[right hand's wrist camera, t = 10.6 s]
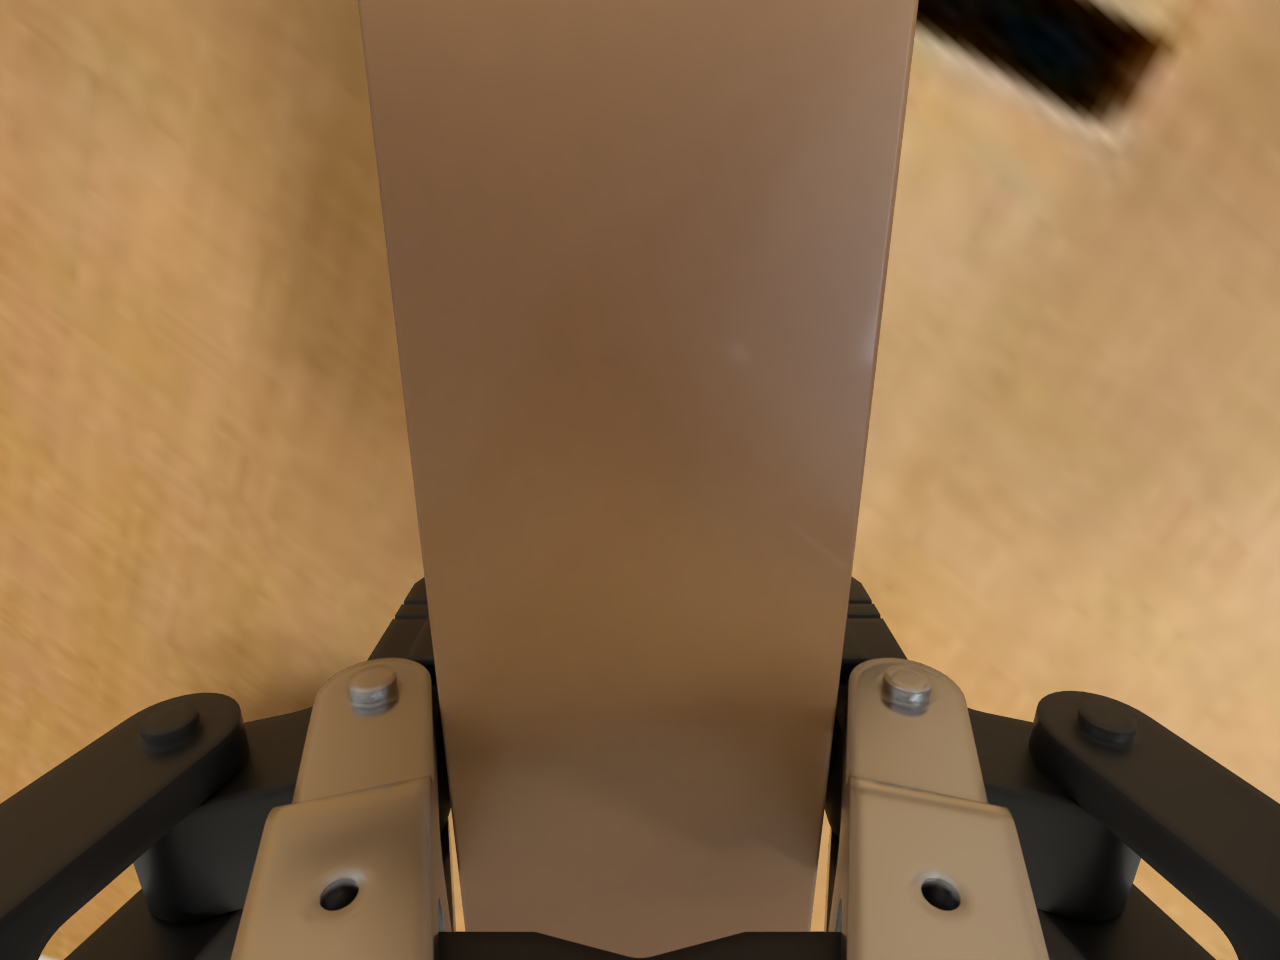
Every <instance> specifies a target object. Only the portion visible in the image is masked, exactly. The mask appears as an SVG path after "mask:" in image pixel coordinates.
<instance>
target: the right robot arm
mask: <svg viewBox="0 0 1280 960" xmlns="http://www.w3.org/2000/svg"><path fill="white" fill-rule="evenodd" d="M450 809H451V801H450V792H449V783H448V775H447V766H446V757H445V749H444V740H443V731H442V723H441V714H440V705H439V697H438V688H437V680H436V671H435V662H434V654H433V645H432V636H431V628H430V619H429V610H428V602H427V593H426V584H425V577H424V578H422V579H421V580H419V581H418V582H417V583H415V584H414V586H413V588H412V589H411V591H410V592H409V594H408V596H407V597H406V599H405V600H404V605H401V607H400V609H399V610H398V612H397V613H396V615H395V619H393V620H392V621H391V623H390V625H389V626H388V628H387V630H386V631H385V633H384V634H383V636H382V638H381V639H380V641H379V642H378V644H377V646H376V647H375V649H374V651H373V652H372V654H371V655H370V657H369V659H368V660H367V661H365V662H362V663H358V664H356V665H353V666H351V667H348V668H346V669H344V670H342V671H340V672H339V673H337V674H336V675H334V676H333V677H331V678H330V679H329V680H328V681H326V682H325V683H324V684H323V686H322V687H321V688H320V689H319V691H318V692H317V694H316V697H315V699H314V704H313V707H311V708H308V709H305V710H302V711H298V712H294V713H290V714H285V715H280V716H276V717H271V718H266V719H261V720H256V721H251V722H246V723H244V722H243V718H242V714H241V710H240V707H239V704H238V703H237V702H236V701H235V700H234V699H232V698H231V697H229V696H226V695H223V694H217V693H196V694H189V695H184V696H180V697H176V698H172V699H169V700H166V701H163V702H160V703H157V704H155V705H153V706H150V707H148V708H146V709H144V710H142V711H140V712H138V713H136V714H135V715H133V716H131V717H130V718H128V719H127V720H125V721H124V722H122V723H121V724H119V725H118V726H116V727H115V728H113V729H112V730H110V731H109V732H107V733H106V734H104V735H103V736H101V737H100V738H98V739H97V740H95V741H94V742H92V743H91V744H89V745H88V746H86V747H85V748H83V749H82V750H80V751H79V752H77V753H76V754H74V755H73V756H71V757H70V758H68V759H67V760H65V761H64V762H62V763H61V764H59V765H58V766H56V767H55V768H53V769H52V770H50V771H49V772H47V773H46V774H44V775H43V776H41V777H40V778H38V779H37V780H35V781H34V782H32V783H31V784H29V785H28V786H26V787H25V788H23V789H22V790H20V791H19V792H18V793H16V794H15V795H13V796H12V797H10V798H9V799H7V800H6V801H4V802H3V803H1V804H0V960H38V959H39V957H40V955H41V952H42V950H43V949H44V947H45V945H46V944H47V942H48V941H49V940H50V938H51V937H52V935H53V934H54V933H55V932H56V931H57V930H58V928H59V927H60V926H61V925H62V924H64V923H65V922H66V921H67V920H68V919H69V918H70V917H71V916H72V915H74V914H75V913H76V912H77V911H78V910H79V909H81V908H82V907H83V906H84V905H85V904H86V903H87V902H89V901H90V900H91V899H92V898H93V897H94V896H95V895H97V894H98V893H99V892H100V891H101V890H102V889H104V888H105V887H106V886H107V885H108V884H109V883H110V882H112V881H113V880H114V879H115V878H116V877H117V876H119V875H120V874H121V873H122V872H123V871H124V870H125V869H127V868H128V867H129V866H130V865H131V864H132V863H134V866H135V869H136V872H137V875H138V878H139V881H140V884H141V887H142V889H141V890H140V891H139V892H137V893H136V894H135V895H134V896H133V897H132V898H131V899H130V900H129V901H128V902H127V903H125V904H124V905H123V906H122V907H121V908H120V909H119V910H118V911H117V912H116V913H115V914H113V915H112V916H111V917H110V918H109V919H108V920H107V921H106V922H105V923H104V924H102V925H101V926H100V927H99V928H98V929H97V930H96V931H95V932H94V933H93V934H92V935H90V936H89V937H88V938H87V939H86V940H85V941H84V942H83V943H82V944H81V945H80V946H78V947H77V948H76V949H75V950H74V951H73V952H72V953H71V954H70V955H69V956H67V957H66V958H65V959H64V960H1216V959H1215V958H1214V957H1213V956H1211V955H1210V954H1209V953H1208V952H1207V951H1206V950H1205V949H1204V948H1203V947H1202V946H1200V945H1199V944H1198V943H1197V942H1196V941H1195V940H1194V939H1193V938H1192V937H1191V936H1190V935H1188V934H1187V933H1186V932H1185V931H1184V930H1183V929H1182V928H1181V927H1180V926H1179V925H1178V924H1176V923H1175V922H1174V921H1173V920H1172V919H1171V918H1170V917H1169V916H1168V915H1167V914H1165V913H1164V912H1163V911H1162V910H1161V909H1160V908H1159V907H1158V906H1157V905H1156V904H1155V903H1153V902H1152V901H1151V900H1150V899H1149V898H1148V897H1147V896H1146V895H1145V894H1144V893H1143V892H1141V891H1140V890H1139V889H1138V888H1137V887H1136V886H1135V885H1134V884H1133V881H1134V878H1135V875H1136V872H1137V869H1138V866H1139V863H1140V860H1141V858H1142V859H1143V860H1144V861H1145V862H1147V863H1148V864H1149V865H1150V866H1151V867H1152V868H1153V869H1155V870H1156V871H1157V872H1158V873H1159V874H1160V875H1161V876H1163V877H1164V878H1165V879H1166V880H1167V881H1168V882H1170V883H1171V884H1172V885H1173V886H1174V887H1175V888H1176V889H1178V890H1179V891H1180V892H1181V893H1182V894H1183V895H1184V896H1186V897H1187V898H1188V899H1189V900H1190V901H1191V902H1193V903H1194V904H1195V905H1196V906H1197V907H1198V908H1199V909H1201V910H1202V911H1203V912H1204V913H1205V914H1206V915H1208V916H1209V917H1210V918H1211V919H1212V920H1213V921H1214V922H1215V923H1216V924H1217V925H1218V926H1219V927H1220V929H1221V930H1222V931H1223V932H1224V934H1225V935H1226V936H1227V938H1228V939H1229V941H1230V942H1231V944H1232V946H1233V948H1234V950H1235V952H1236V954H1237V956H1238V959H1239V960H1280V804H1279V803H1277V802H1276V801H1274V800H1273V799H1271V798H1270V797H1268V796H1267V795H1265V794H1264V793H1262V792H1261V791H1259V790H1258V789H1256V788H1255V787H1254V786H1252V785H1251V784H1249V783H1248V782H1246V781H1245V780H1243V779H1242V778H1240V777H1239V776H1237V775H1236V774H1234V773H1233V772H1231V771H1230V770H1228V769H1227V768H1225V767H1224V766H1222V765H1221V764H1219V763H1218V762H1216V761H1215V760H1213V759H1212V758H1210V757H1209V756H1207V755H1206V754H1204V753H1203V752H1201V751H1200V750H1198V749H1197V748H1195V747H1194V746H1192V745H1191V744H1189V743H1188V742H1186V741H1185V740H1183V739H1182V738H1180V737H1179V736H1177V735H1176V734H1174V733H1173V732H1171V731H1170V730H1168V729H1167V728H1165V727H1164V726H1162V725H1161V724H1159V723H1158V722H1156V721H1155V720H1153V719H1152V718H1150V717H1149V716H1147V715H1146V714H1144V713H1142V712H1141V711H1139V710H1137V709H1135V708H1133V707H1131V706H1129V705H1127V704H1124V703H1122V702H1120V701H1117V700H1114V699H1111V698H1108V697H1105V696H1101V695H1097V694H1093V693H1087V692H1079V691H1061V692H1055V693H1052V694H1049V695H1047V696H1045V697H1044V698H1042V699H1041V701H1040V702H1039V703H1038V706H1037V710H1036V714H1035V718H1034V722H1028V721H1023V720H1018V719H1013V718H1008V717H1003V716H999V715H994V714H989V713H984V712H980V711H976V710H973V709H970V708H967V704H966V699H965V697H964V694H963V692H962V691H961V689H960V688H959V687H958V686H957V684H956V683H955V682H954V681H952V680H951V679H950V678H949V677H947V676H946V675H944V674H943V673H941V672H940V671H938V670H936V669H934V668H932V667H929V666H927V665H924V664H922V663H918V662H915V661H911V660H908V659H907V658H906V656H905V655H904V653H903V651H902V650H901V648H900V646H899V645H898V643H897V641H896V640H895V638H894V636H893V635H892V633H891V632H890V630H889V628H888V627H887V625H886V623H885V622H884V620H883V619H881V618H880V613H879V612H878V610H877V609H876V607H875V605H874V604H872V600H871V599H870V597H869V595H868V594H867V592H866V590H865V589H864V587H863V586H862V584H861V583H860V582H859V581H857V580H856V579H854V578H853V577H852V576H851V584H850V593H849V601H848V610H847V619H846V627H845V636H844V644H843V653H842V662H841V670H840V679H839V687H838V696H837V704H836V713H835V722H834V730H833V739H832V747H831V756H830V765H829V773H828V782H827V790H826V799H825V811H826V815H827V818H828V821H829V824H830V826H831V829H830V838H829V848H828V867H827V886H826V904H825V923H824V932H742V933H739V934H735V935H731V936H727V937H723V938H720V939H716V940H712V941H708V942H705V943H701V944H697V945H693V946H690V947H686V948H682V949H678V950H674V951H671V952H667V953H663V954H659V955H656V956H652V957H646V958H634V957H628V956H624V955H621V954H617V953H613V952H609V951H606V950H602V949H598V948H594V947H590V946H587V945H583V944H579V943H575V942H572V941H568V940H564V939H560V938H557V937H553V936H549V935H545V934H541V933H538V932H456V923H455V904H454V886H453V867H452V848H451V838H450V830H449V821H448V815H449V812H450Z"/></svg>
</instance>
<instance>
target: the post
mask: <svg viewBox="0 0 1280 960" xmlns="http://www.w3.org/2000/svg"><path fill="white" fill-rule="evenodd" d="M358 4H359V13H360V21H361V30H362V39H363V47H364V56H365V65H366V73H367V82H368V91H369V99H370V108H371V117H372V125H373V134H374V143H375V151H376V160H377V169H378V177H379V186H380V195H381V203H382V212H383V221H384V229H385V238H386V247H387V255H388V264H389V273H390V281H391V290H392V299H393V307H394V316H395V324H396V333H397V342H398V350H399V359H400V368H401V376H402V385H403V394H404V402H405V411H406V420H407V428H408V437H409V446H410V454H411V463H412V472H413V480H414V489H415V498H416V506H417V515H418V524H419V532H420V541H421V550H422V558H423V567H424V576H425V584H426V593H427V602H428V610H429V619H430V628H431V636H432V645H433V654H434V662H435V671H436V680H437V688H438V697H439V705H440V714H441V723H442V731H443V740H444V749H445V757H446V766H447V775H448V783H449V792H450V801H451V809H452V818H453V827H454V835H455V844H456V853H457V861H458V870H459V879H460V887H461V896H462V905H463V913H464V922H465V931H466V932H538V933H541V934H545V935H549V936H553V937H557V938H560V939H564V940H568V941H572V942H575V943H579V944H583V945H587V946H590V947H594V948H598V949H602V950H606V951H609V952H613V953H617V954H621V955H624V956H628V957H634V958H646V957H652V956H656V955H659V954H663V953H667V952H671V951H674V950H678V949H682V948H686V947H690V946H693V945H697V944H701V943H705V942H708V941H712V940H716V939H720V938H723V937H727V936H731V935H735V934H739V933H742V932H810V928H811V919H812V911H813V902H814V893H815V885H816V876H817V868H818V859H819V850H820V842H821V833H822V825H823V816H824V808H825V799H826V790H827V782H828V773H829V765H830V756H831V747H832V739H833V730H834V722H835V713H836V704H837V696H838V687H839V679H840V670H841V662H842V653H843V644H844V636H845V627H846V619H847V610H848V601H849V593H850V584H851V576H852V567H853V558H854V550H855V541H856V533H857V524H858V516H859V507H860V498H861V490H862V481H863V473H864V464H865V455H866V447H867V438H868V430H869V421H870V412H871V404H872V395H873V387H874V378H875V370H876V361H877V352H878V344H879V335H880V327H881V318H882V309H883V301H884V292H885V284H886V275H887V266H888V258H889V249H890V241H891V232H892V224H893V215H894V206H895V198H896V189H897V181H898V172H899V163H900V155H901V146H902V138H903V129H904V120H905V112H906V103H907V95H908V86H909V78H910V69H911V60H912V52H913V43H914V35H915V26H916V17H917V9H918V0H358Z"/></svg>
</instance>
